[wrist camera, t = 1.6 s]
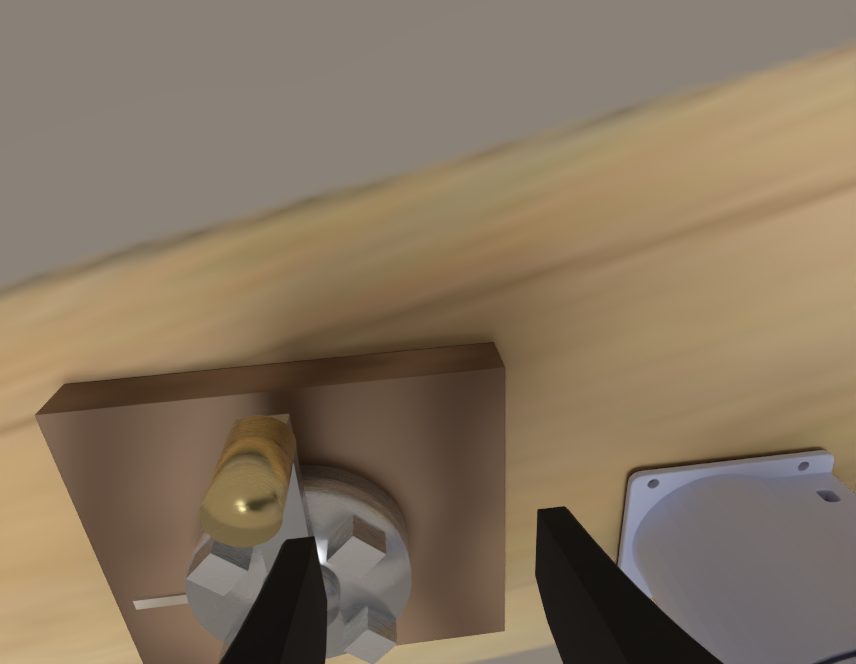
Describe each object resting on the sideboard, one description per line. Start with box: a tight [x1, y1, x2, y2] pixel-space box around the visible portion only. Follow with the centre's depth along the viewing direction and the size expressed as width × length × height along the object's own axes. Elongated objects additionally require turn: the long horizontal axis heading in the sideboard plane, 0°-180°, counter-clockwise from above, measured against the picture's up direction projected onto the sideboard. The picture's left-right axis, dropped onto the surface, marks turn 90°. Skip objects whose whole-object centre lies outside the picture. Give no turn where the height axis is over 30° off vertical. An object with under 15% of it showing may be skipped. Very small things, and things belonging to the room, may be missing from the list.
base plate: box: [35, 342, 505, 664], centre depth 23 cm, size 16×14×2 cm
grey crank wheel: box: [185, 414, 411, 664], centre depth 19 cm, size 12×8×6 cm, turn 4°
